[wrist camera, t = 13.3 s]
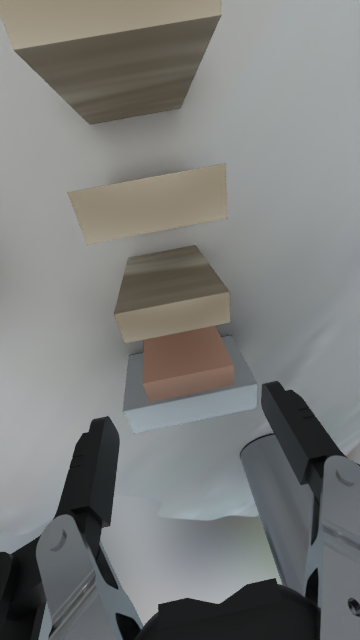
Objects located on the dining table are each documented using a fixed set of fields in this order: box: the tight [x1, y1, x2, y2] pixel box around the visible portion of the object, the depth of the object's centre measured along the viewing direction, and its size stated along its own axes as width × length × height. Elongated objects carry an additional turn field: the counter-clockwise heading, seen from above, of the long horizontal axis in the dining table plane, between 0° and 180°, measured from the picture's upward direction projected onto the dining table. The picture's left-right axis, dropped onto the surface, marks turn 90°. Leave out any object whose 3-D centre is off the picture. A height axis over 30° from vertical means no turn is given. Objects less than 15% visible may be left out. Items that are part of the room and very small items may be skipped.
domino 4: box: [143, 326, 234, 402], centre depth 15 cm, size 2×5×8 cm, turn 99°
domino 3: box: [114, 245, 230, 343], centre depth 13 cm, size 2×5×8 cm, turn 99°
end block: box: [123, 335, 258, 434], centre depth 19 cm, size 3×10×6 cm, turn 99°
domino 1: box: [0, 0, 221, 124], centre depth 8 cm, size 2×5×8 cm, turn 99°
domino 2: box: [68, 163, 227, 245], centre depth 11 cm, size 2×5×8 cm, turn 99°
